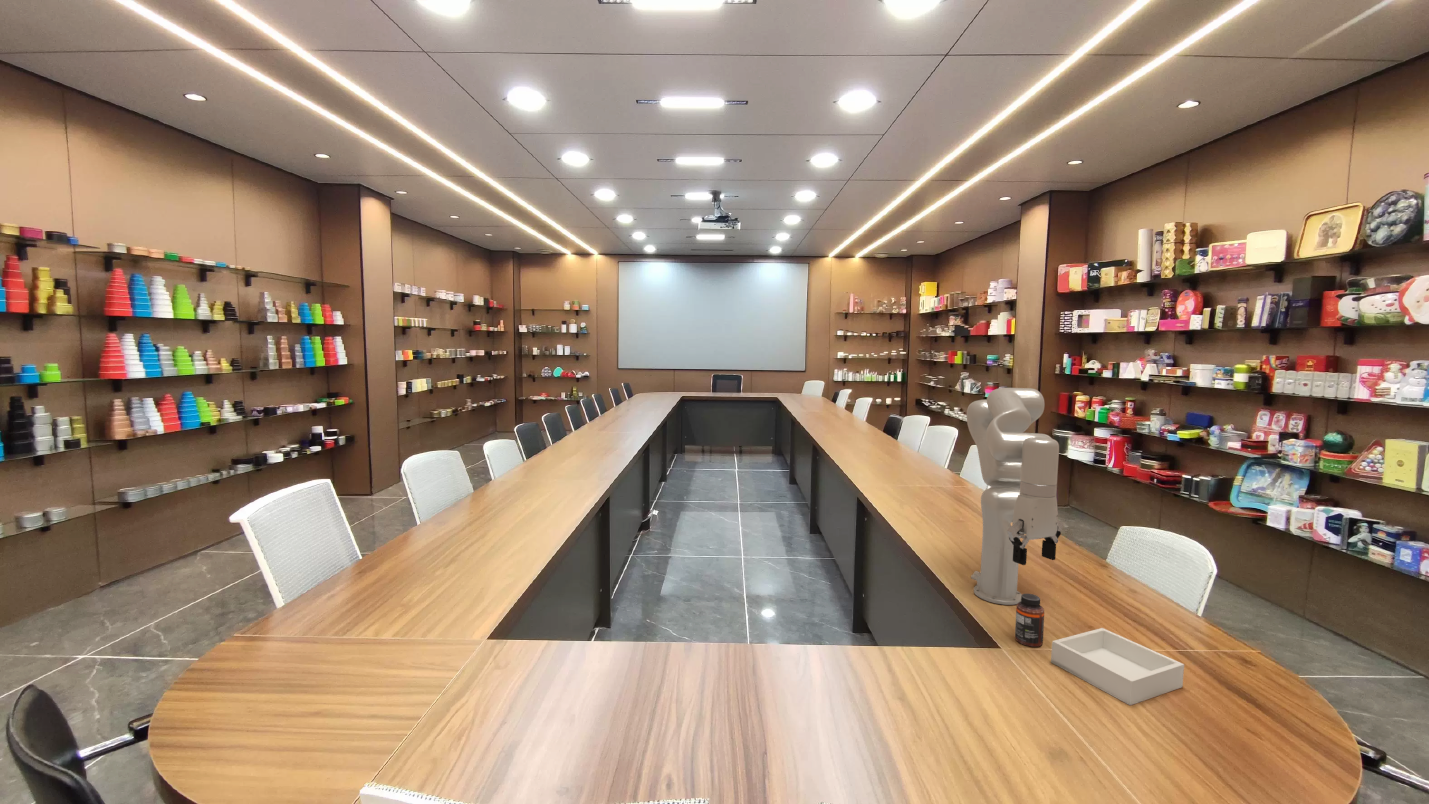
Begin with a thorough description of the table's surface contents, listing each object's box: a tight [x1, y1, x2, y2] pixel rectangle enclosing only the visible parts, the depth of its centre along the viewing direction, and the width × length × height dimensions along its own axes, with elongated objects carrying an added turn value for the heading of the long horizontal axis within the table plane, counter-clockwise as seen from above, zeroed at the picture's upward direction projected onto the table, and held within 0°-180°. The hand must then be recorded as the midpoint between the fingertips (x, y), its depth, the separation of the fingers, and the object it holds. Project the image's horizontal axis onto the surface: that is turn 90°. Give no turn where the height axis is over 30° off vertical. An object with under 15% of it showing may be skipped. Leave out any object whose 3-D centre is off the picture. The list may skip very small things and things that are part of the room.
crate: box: [1050, 627, 1185, 706], centre depth 124 cm, size 17×17×5 cm
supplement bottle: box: [1014, 593, 1045, 648], centre depth 138 cm, size 6×6×11 cm
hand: (1033, 560), depth 136 cm, fingers open, 9 cm apart
